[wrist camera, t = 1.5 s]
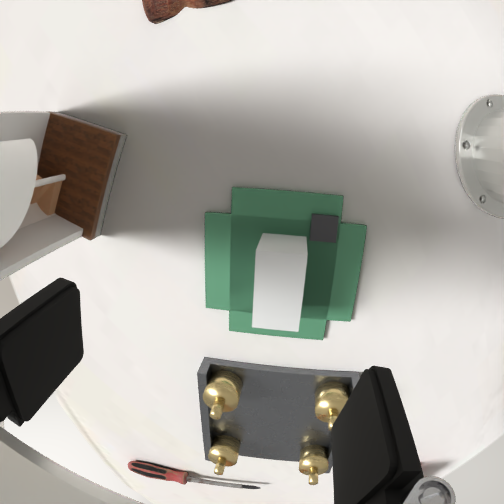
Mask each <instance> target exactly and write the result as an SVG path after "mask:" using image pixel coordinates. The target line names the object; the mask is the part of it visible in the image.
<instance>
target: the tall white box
mask: <svg viewBox="0 0 504 504" xmlns="http://www.w3.org/2000/svg"><path fill="white" fill-rule="evenodd" d="M126 136H127V135H125V134H122V133H120V132H117V131H114V130H111V129H108V128H105V127H102V126H99V125H96V124H93V123H90V122H87V121H84V120H81V119H78V118H75V117H72V116H69V115H65V114H62V113H59V112H41V111H14V112H0V281H1V280H2V279H4V278H6V277H8V276H9V275H11V274H13V273H15V272H16V271H18V270H20V269H22V268H23V267H25V266H27V265H29V264H31V263H32V262H34V261H36V260H38V259H40V258H41V257H43V256H45V255H47V254H49V253H51V252H53V251H54V250H56V249H58V248H60V247H62V246H64V245H66V244H68V243H70V242H72V241H74V240H76V239H78V238H80V237H84V238H86V239H88V240H92V239H94V238H96V237H98V236H100V234H101V230H102V225H103V220H104V216H105V212H106V208H107V203H108V199H109V195H110V192H111V188H112V184H113V180H114V177H115V173H116V169H117V166H118V162H119V159H120V156H121V152H122V149H123V146H124V143H125V140H126Z"/></svg>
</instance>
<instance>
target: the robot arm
mask: <svg viewBox="0 0 504 504" xmlns="http://www.w3.org/2000/svg"><path fill="white" fill-rule="evenodd" d="M463 144H464V146H463ZM455 156H456V164H457V169H458V173H459V176H460V180H461V183H462V185H463V187H464V189H465V191H466V193H467V194H468V196H469V197H470V199H471V200H472V201H473V202H474V203H475V204H476V205H477V206H478V207H479V208H480V209H481V210H483V211H484V212H486V213H488V214H490V215H492V216H495V217H498V218H503V219H504V95H488V96H484V97H482V98H479V99H477V100H476V101H474V102H473V103H472V104H471V105H470V106H469V107H468V108H467V110H466V111H465V112H464V114H463V116H462V118H461V120H460V123H459V126H458V130H457V134H456V143H455ZM83 353H84V350H83V339H82V327H81V310H80V291H79V289H77V286H76V284H75V283H74V282H71V281H69V280H66V279H64V278H58V279H57V280H55V281H54V282H52V283H51V284H49V285H48V286H46V287H45V288H43V289H42V290H40V291H39V292H37V293H36V294H34V295H33V296H31V297H30V298H29V299H27V300H26V301H24V302H23V303H21V304H20V305H19V306H17V307H16V308H15V309H13V310H12V311H10V312H9V313H8V314H6V315H5V316H3V317H2V318H1V319H0V504H143V503H141V502H138V501H136V500H133V499H130V498H128V497H125V496H123V495H121V494H118V493H116V492H113V491H111V490H109V489H107V488H104V487H102V486H100V485H98V484H96V483H94V482H92V481H90V480H88V479H85V478H84V477H82V476H80V475H77V474H76V473H73V472H72V471H70V470H68V469H66V468H64V467H63V466H61V465H59V464H57V463H56V462H54V461H52V460H50V459H49V458H47V457H45V456H43V455H42V454H40V453H39V452H37V451H36V450H34V449H32V448H31V447H29V446H28V445H26V444H25V443H23V442H22V441H20V440H19V439H17V438H16V437H14V436H13V435H12V434H10V433H9V432H7V431H6V430H5V429H4V420H5V418H6V417H8V419H10V420H11V421H13V422H14V423H15V424H17V425H18V426H21V425H22V424H23V423H24V421H29V420H30V419H31V418H32V417H33V416H34V415H35V413H36V412H37V411H38V410H39V409H40V407H41V406H42V405H43V404H44V403H45V401H46V400H47V399H48V398H49V397H50V395H51V394H52V393H53V392H54V391H55V390H56V389H57V387H58V386H59V385H60V384H61V383H62V382H63V380H64V379H65V378H66V377H67V376H68V375H69V374H70V372H71V371H72V370H73V369H74V368H75V367H76V366H77V365H78V363H79V362H80V361H81V360H82V357H83ZM331 444H332V461H333V482H334V504H455V502H456V499H455V493H454V491H453V489H452V487H451V486H450V484H449V483H447V482H446V481H445V480H443V479H441V478H439V477H434V476H428V477H424V476H423V472H422V468H421V464H420V461H419V457H418V454H417V450H416V447H415V443H414V440H413V436H412V433H411V430H410V426H409V423H408V420H407V417H406V414H405V410H404V407H403V404H402V401H401V398H400V395H399V392H398V389H397V386H396V383H395V381H394V378H393V375H392V372H391V370H390V369H389V368H384V367H378V366H372V367H371V368H370V369H365V370H364V372H363V373H362V375H361V377H360V379H359V381H358V382H357V384H356V386H355V388H354V390H353V391H352V393H351V395H350V397H349V398H348V400H347V402H346V404H345V405H344V407H343V409H342V410H341V412H340V414H339V415H338V417H337V419H336V420H335V422H334V423H333V426H332V429H331Z"/></svg>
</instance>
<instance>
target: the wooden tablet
mask: <svg viewBox="0 0 504 504" xmlns="http://www.w3.org/2000/svg"><path fill="white" fill-rule="evenodd" d="M228 1H231V0H142V2H143V7H144V11H145V13H146V16H147V18H148V20H149V21H150V22H152V23H154V24H156V23H160V22H162V21H164V20H167V19H169V18H171V17H173V16H175V15H177V14H178V13H179V12H180V11H181V10H182V9H183V8H184V7H190V8H206V7H211V6H215V5H219V4H222V3H225V2H228Z"/></svg>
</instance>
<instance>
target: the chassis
mask: <svg viewBox="0 0 504 504" xmlns="http://www.w3.org/2000/svg"><path fill="white" fill-rule="evenodd" d="M197 376H198V389H199V401H200V412H201V422H202V432H203V442H204V451H205V459H206V460H208V461H212V462H213V463H215V464H216V467H215V470H214V473H215V474H217V475H222V474H223V472H224V468H225V466H233V465H235V464H236V463H237V458H238V455H241V456H248V457H256V458H264V459H274V460H285V461H298V462H299V471H300V472H301V473H303V474H305V475H309V484H310V485H316V484H318V475H320V474H323V473H329V472H330V470H331V468H332V466H333V461H332V444H331V429H332V426H333V423H334V422H335V420H336V419H337V417H338V415H339V414H340V412H341V410H342V409H343V407H344V405H345V404H346V402H347V400H348V398H349V397H350V395H351V393H352V391H353V390H354V388H355V386H356V384H357V382H358V381H359V379H360V376H359V372H346V371H327V370H312V369H299V368H288V367H277V366H267V365H259V364H250V363H242V362H234V361H227V360H220V359H213V358H207V357H204V359H203V361H202V363H201V366H200V368H199V370H198V372H197Z"/></svg>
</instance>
